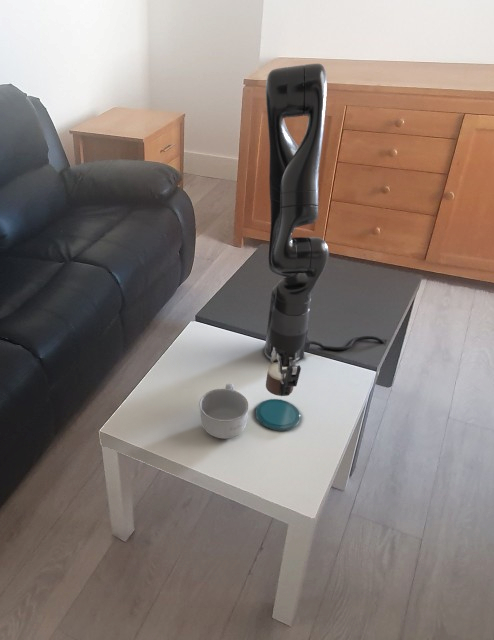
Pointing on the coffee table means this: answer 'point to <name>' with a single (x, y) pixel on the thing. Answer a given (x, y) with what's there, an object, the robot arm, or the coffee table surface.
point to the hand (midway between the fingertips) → (279, 385)
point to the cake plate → (277, 415)
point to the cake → (274, 379)
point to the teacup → (223, 412)
